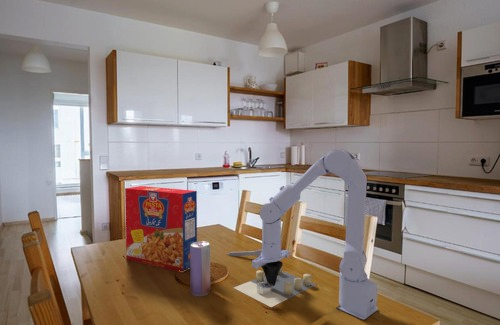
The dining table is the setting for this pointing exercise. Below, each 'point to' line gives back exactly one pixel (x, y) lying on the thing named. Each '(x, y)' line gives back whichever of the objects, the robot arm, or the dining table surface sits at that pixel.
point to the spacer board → (277, 287)
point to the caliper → (246, 253)
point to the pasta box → (160, 226)
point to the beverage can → (200, 268)
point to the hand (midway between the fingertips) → (271, 285)
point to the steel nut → (264, 288)
